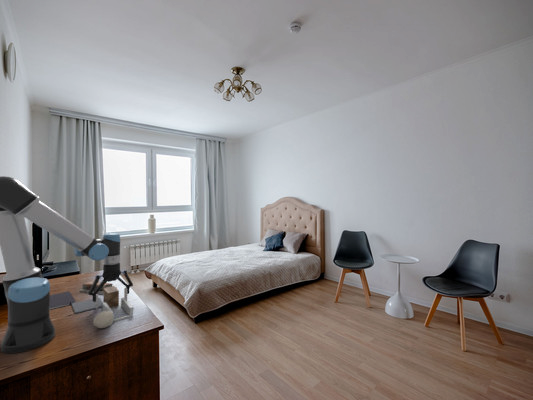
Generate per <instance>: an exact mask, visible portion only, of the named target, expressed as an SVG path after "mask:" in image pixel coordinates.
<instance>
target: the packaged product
mask: <svg viewBox="0 0 533 400" xmlns="http://www.w3.org/2000/svg"><path fill="white" fill-rule="evenodd" d="M94 281H95V280H91V281H87V282H85V283H83V284H82V287H81V289H79V292H82V293H87V294H88V292H89V290H90V288H91V286H92V284H93V283H94ZM101 282H102V281H98V283H97V285H96V287H95V289H96V288H97V287H98V286H99V284H100V283H101ZM111 286H114V285H113V283H110V282H106V284H104V286H103V287H102V288H101V289H100V291H99V292H98V293H97V295H103V288H106V287H111ZM115 287H116V286H115ZM116 288H117V287H116ZM95 289H94V291H95ZM117 289H118V288H117ZM94 291H93V292H94Z"/></svg>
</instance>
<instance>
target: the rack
mask: <svg viewBox="0 0 533 400" xmlns="http://www.w3.org/2000/svg"><path fill="white" fill-rule="evenodd" d="M102 303H103V307H102V312H103V311H110V312H111V313H112V314H113V315H114V312H113V310H112V308H110V307H109V306H108V305H107V303H106V302H103V301H102ZM120 306H121V308H122V309H123V310H124V311H125V312H126V314H128V315H125V316H122V317H118V318H113V321H112V323H114V322H115V323H116V322H118V321H121V320H124V319H128V318H131V317H133V316H134V306H133V305H131V304H130V303H129V301H128V299H127V300H126V299H125V298H124V297H122V298H120ZM132 315H133V316H132Z"/></svg>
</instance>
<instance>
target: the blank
mask: <svg viewBox="0 0 533 400" xmlns="http://www.w3.org/2000/svg"><path fill="white" fill-rule="evenodd" d="M102 296H103V297H102V298H103V300H102V303H103V302H106V303H107V305H108V306H109V307H110V309H113V308H117V307H119V306H120V301H119V300H120V298H119V297H120V290H119V289H118V288H116V286H115V285H112V286H111V287H106V288H103V294H102Z"/></svg>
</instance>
